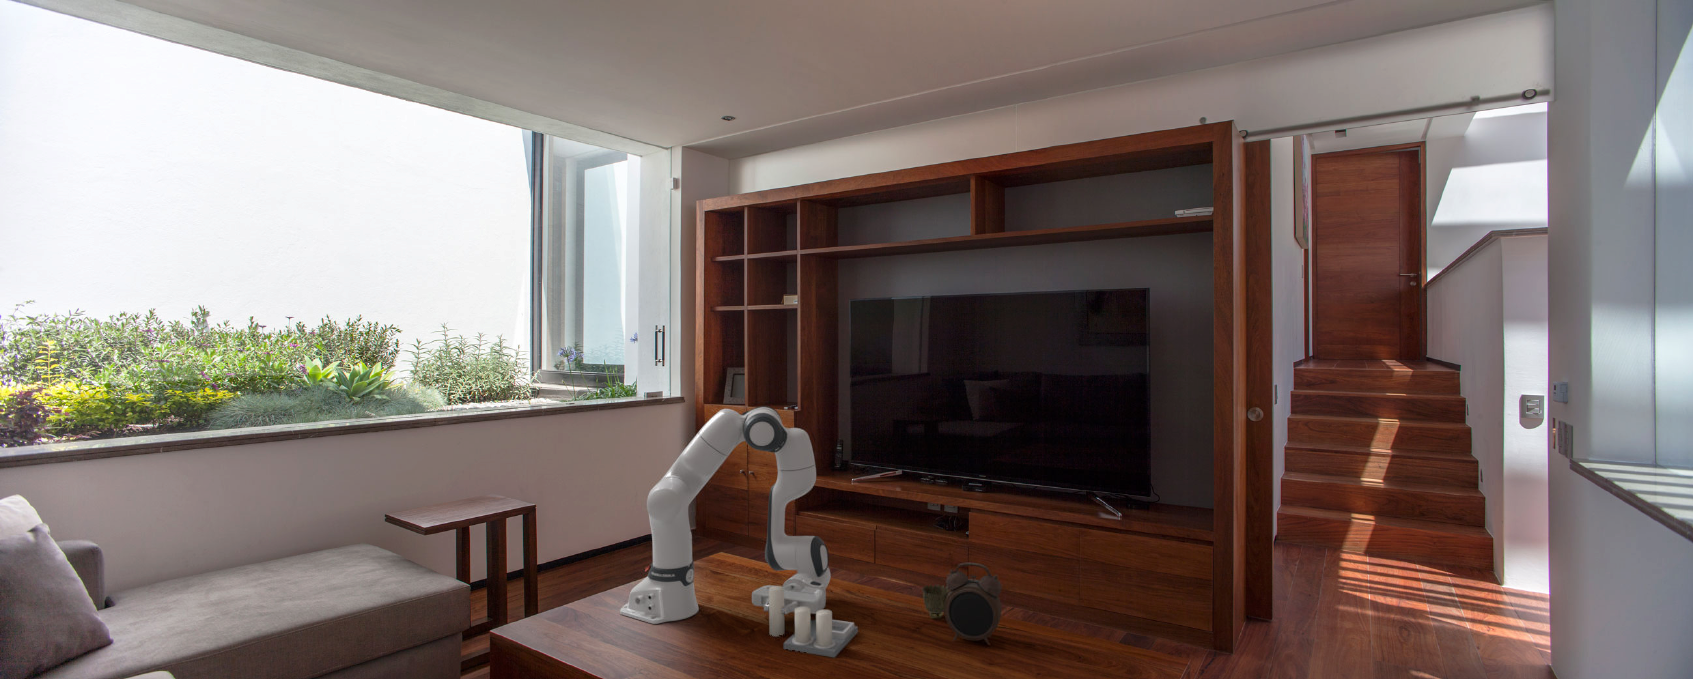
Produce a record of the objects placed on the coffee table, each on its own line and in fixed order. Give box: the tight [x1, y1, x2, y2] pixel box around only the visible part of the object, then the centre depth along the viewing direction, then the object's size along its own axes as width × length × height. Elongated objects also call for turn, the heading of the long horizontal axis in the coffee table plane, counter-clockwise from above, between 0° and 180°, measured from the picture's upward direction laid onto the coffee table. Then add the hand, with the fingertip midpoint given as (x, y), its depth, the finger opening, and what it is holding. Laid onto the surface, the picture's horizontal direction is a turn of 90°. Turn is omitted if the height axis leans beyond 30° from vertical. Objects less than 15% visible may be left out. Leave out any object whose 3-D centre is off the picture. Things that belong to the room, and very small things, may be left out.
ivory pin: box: [768, 585, 785, 637], centre depth 194 cm, size 4×4×12 cm
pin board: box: [783, 607, 859, 658], centre depth 189 cm, size 14×16×10 cm
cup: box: [922, 584, 950, 620], centre depth 203 cm, size 8×7×8 cm
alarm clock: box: [943, 562, 1003, 645], centre depth 187 cm, size 15×7×20 cm, turn 71°
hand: (775, 609), depth 193 cm, fingers closed on ivory pin, 4 cm apart
